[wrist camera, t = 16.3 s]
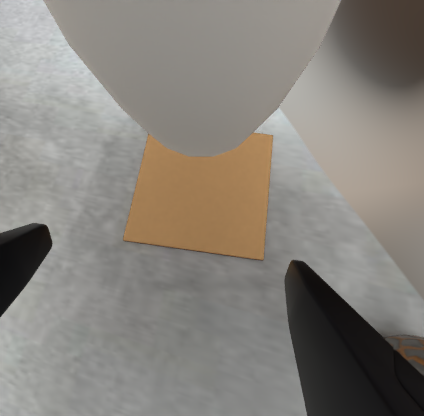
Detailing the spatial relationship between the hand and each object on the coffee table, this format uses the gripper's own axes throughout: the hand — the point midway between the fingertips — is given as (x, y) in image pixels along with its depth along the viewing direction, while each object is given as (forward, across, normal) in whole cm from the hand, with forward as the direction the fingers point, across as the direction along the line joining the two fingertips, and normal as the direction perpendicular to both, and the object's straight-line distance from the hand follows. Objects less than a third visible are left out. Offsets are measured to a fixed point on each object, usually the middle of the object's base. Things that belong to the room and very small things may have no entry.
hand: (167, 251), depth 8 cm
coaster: (+13, 0, +3) cm, 13 cm away
